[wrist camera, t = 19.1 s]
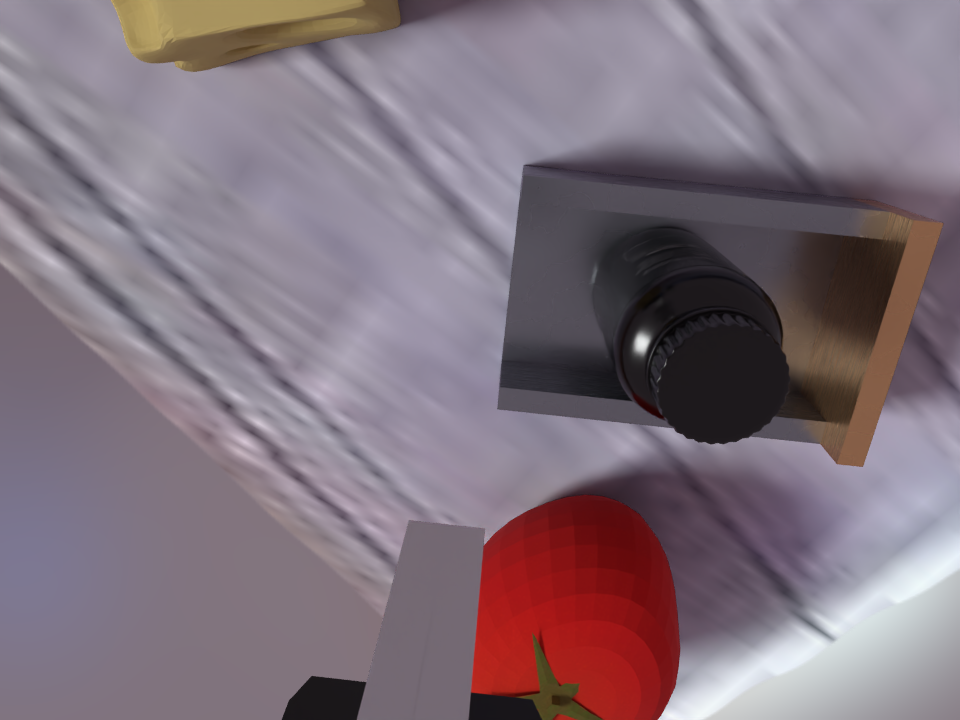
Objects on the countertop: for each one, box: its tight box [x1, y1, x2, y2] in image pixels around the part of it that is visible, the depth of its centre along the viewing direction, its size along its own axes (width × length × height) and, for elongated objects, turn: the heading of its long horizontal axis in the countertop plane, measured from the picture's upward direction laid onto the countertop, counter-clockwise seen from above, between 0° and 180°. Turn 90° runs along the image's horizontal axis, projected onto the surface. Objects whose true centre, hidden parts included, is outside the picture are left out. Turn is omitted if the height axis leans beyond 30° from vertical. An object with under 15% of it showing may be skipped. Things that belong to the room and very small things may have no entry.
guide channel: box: [497, 165, 943, 467], centre depth 34 cm, size 17×11×6 cm, turn 85°
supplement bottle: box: [593, 228, 791, 444], centre depth 31 cm, size 7×7×12 cm
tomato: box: [471, 495, 680, 720], centre depth 38 cm, size 12×14×11 cm
